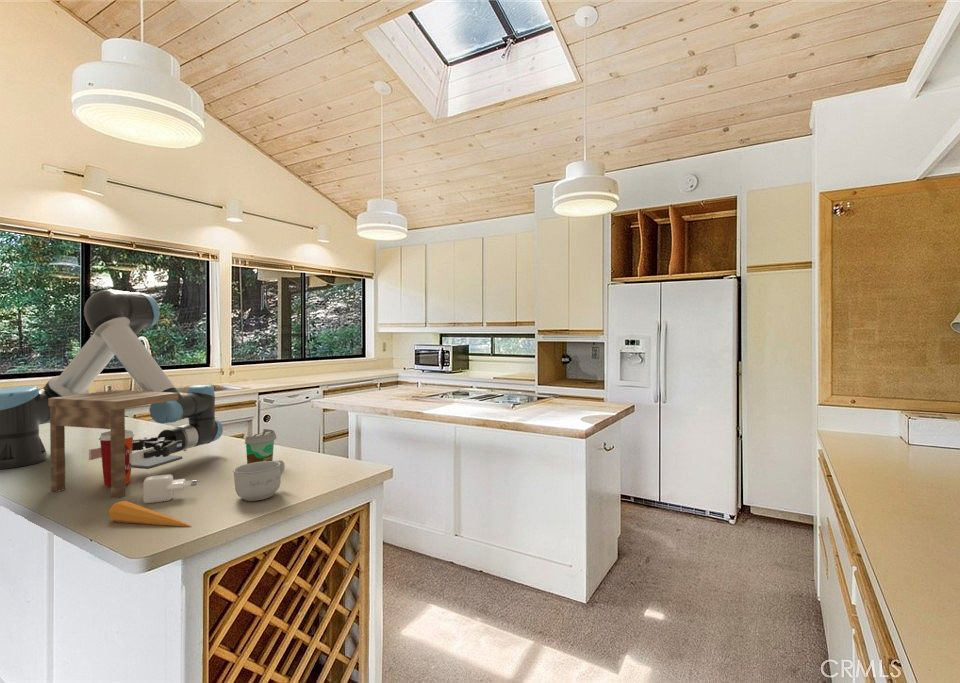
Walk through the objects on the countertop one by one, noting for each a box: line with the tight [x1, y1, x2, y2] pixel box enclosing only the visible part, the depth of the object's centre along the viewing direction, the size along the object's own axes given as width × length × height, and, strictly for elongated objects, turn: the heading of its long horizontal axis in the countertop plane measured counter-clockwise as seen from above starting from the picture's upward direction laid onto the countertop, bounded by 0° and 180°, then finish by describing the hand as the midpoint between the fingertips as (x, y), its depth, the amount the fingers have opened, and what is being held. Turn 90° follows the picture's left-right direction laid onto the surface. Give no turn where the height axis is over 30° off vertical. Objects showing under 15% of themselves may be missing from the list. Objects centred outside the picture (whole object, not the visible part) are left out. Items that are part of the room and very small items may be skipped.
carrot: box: [108, 500, 191, 527], centre depth 104 cm, size 20×4×4 cm, turn 79°
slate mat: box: [131, 454, 183, 469], centre depth 152 cm, size 12×12×1 cm
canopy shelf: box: [48, 389, 178, 499], centre depth 130 cm, size 22×18×24 cm
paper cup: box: [98, 429, 135, 488], centre depth 130 cm, size 8×8×14 cm
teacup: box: [232, 459, 286, 502], centre depth 122 cm, size 14×11×8 cm
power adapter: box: [142, 473, 199, 504], centre depth 118 cm, size 11×5×6 cm, turn 115°
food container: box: [244, 428, 277, 464], centre depth 149 cm, size 12×6×10 cm, turn 179°
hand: (109, 456), depth 128 cm, fingers open, 13 cm apart
